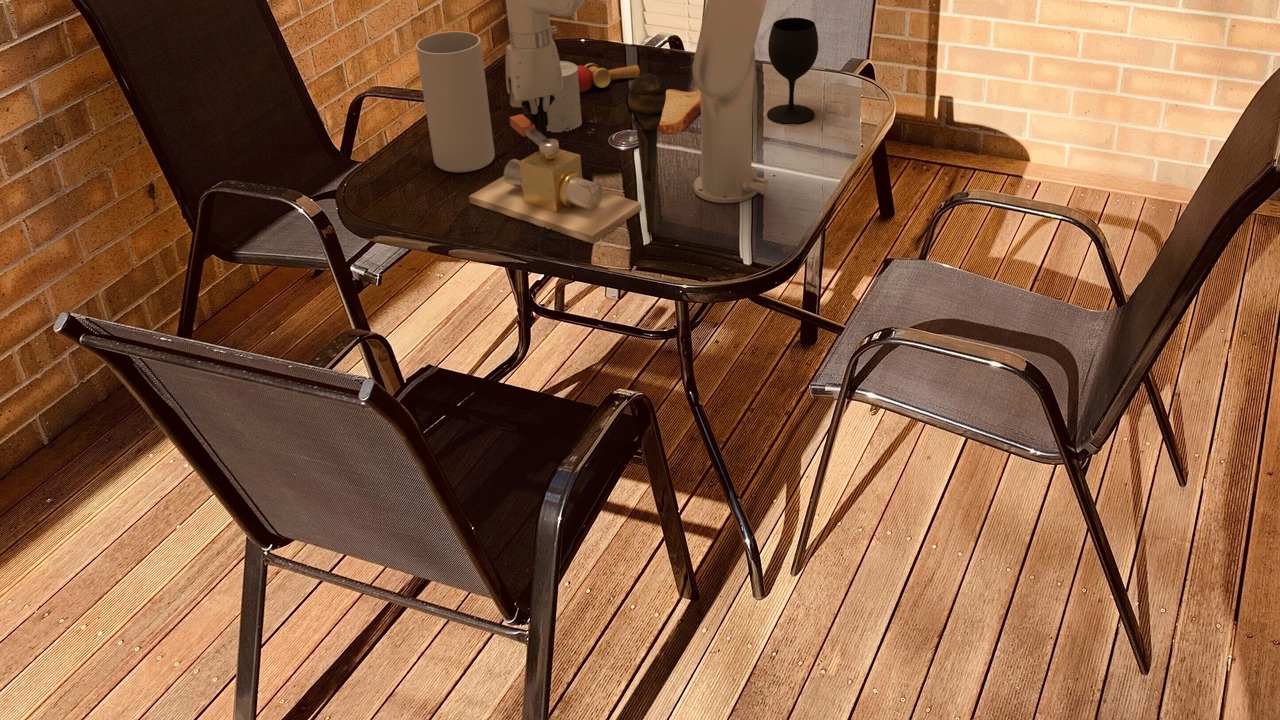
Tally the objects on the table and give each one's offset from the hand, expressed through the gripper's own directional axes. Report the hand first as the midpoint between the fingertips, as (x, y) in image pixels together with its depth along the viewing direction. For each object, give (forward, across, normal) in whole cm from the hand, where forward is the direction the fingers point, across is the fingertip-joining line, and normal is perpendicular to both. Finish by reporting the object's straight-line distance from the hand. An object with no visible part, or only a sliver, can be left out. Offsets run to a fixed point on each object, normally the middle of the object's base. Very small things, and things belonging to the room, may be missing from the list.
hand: (540, 129), depth 220 cm
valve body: (+9, +3, +12) cm, 15 cm away
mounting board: (+10, +3, +12) cm, 16 cm away
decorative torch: (+11, -8, +31) cm, 34 cm away
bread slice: (+11, -38, -15) cm, 42 cm away
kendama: (+11, -31, -39) cm, 51 cm away
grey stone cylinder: (+11, -13, -24) cm, 29 cm away
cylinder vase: (+11, +11, -17) cm, 23 cm away
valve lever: (-1, +3, +5) cm, 6 cm away
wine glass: (+11, -58, -1) cm, 59 cm away
